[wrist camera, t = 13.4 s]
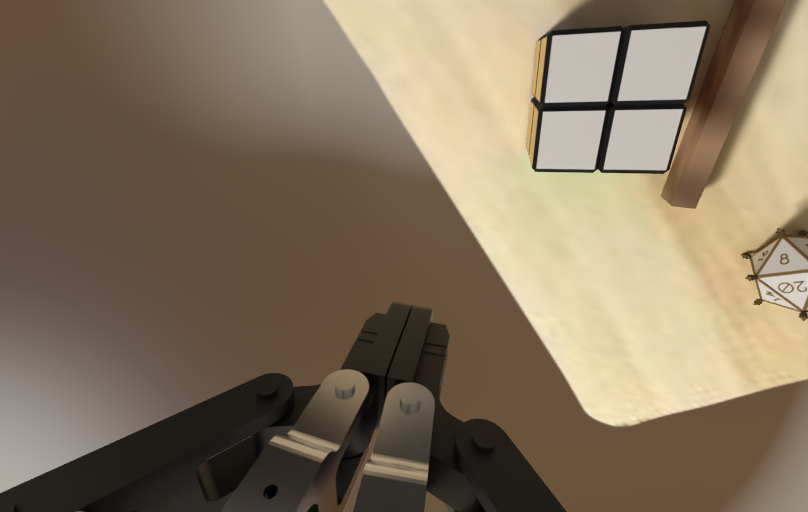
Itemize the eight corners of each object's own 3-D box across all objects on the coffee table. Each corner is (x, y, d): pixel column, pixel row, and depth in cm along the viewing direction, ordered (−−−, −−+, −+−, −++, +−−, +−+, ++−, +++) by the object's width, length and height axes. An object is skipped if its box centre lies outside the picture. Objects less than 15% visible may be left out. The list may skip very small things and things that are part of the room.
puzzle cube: (658, 30, 32) (714, 19, 24) (631, 148, 37) (670, 175, 28) (536, 37, 35) (547, 30, 26) (525, 148, 39) (531, 173, 30)
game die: (748, 254, 42) (743, 335, 38) (735, 208, 38) (728, 294, 34) (875, 251, 35) (884, 349, 32) (878, 194, 31) (889, 300, 27)
